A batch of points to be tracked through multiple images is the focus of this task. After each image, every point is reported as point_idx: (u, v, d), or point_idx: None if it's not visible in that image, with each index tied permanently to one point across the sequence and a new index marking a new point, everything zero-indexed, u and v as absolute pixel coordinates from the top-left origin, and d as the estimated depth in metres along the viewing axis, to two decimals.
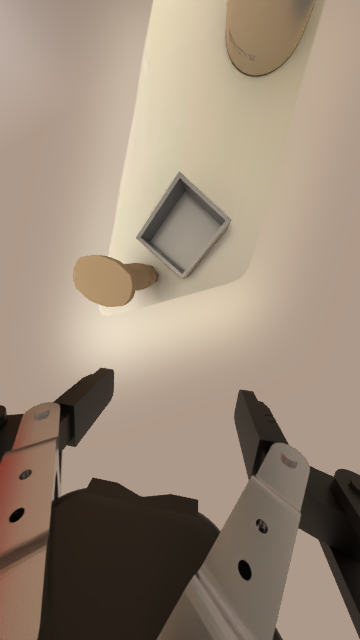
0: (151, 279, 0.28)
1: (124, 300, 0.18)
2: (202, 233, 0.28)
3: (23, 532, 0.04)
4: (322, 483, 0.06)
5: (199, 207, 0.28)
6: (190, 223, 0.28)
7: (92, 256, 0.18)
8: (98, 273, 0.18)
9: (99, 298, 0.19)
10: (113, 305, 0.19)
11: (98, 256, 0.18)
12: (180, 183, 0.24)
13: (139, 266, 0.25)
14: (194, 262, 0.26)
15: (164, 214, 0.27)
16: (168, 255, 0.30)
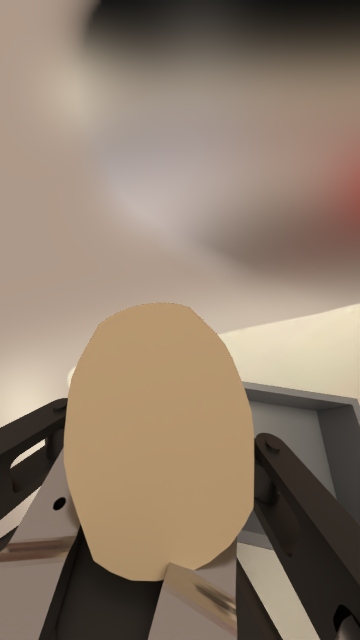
0: None
1: (125, 552, 0.03)
2: None
3: (58, 525, 0.04)
4: None
5: (323, 451, 0.16)
6: (293, 449, 0.16)
7: (212, 334, 0.06)
8: (178, 370, 0.05)
9: (90, 410, 0.05)
10: (78, 495, 0.04)
11: (224, 349, 0.06)
12: (338, 406, 0.15)
13: None
14: None
15: (276, 401, 0.17)
16: None
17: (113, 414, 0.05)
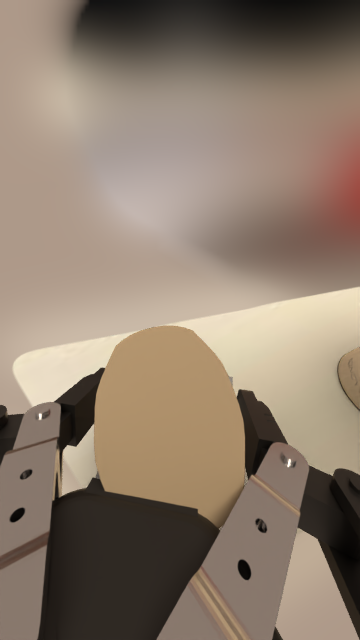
0: None
1: None
2: None
3: (23, 531, 0.04)
4: (321, 482, 0.06)
5: None
6: None
7: (211, 354, 0.07)
8: (184, 385, 0.07)
9: (113, 420, 0.06)
10: (109, 488, 0.05)
11: (221, 367, 0.07)
12: None
13: None
14: None
15: None
16: None
17: (132, 423, 0.06)
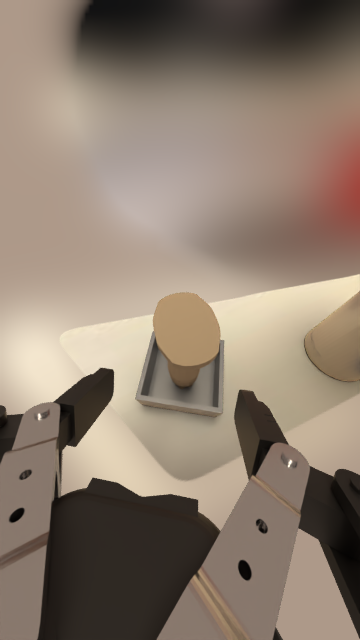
0: (189, 382, 0.21)
1: (181, 361, 0.12)
2: (194, 393, 0.25)
3: (23, 532, 0.04)
4: (322, 483, 0.06)
5: (212, 375, 0.26)
6: None
7: (206, 304, 0.15)
8: (193, 317, 0.14)
9: (162, 329, 0.13)
10: (164, 350, 0.12)
11: (211, 310, 0.14)
12: None
13: None
14: (160, 401, 0.20)
15: None
16: (155, 371, 0.27)
17: (171, 330, 0.13)
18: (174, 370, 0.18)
